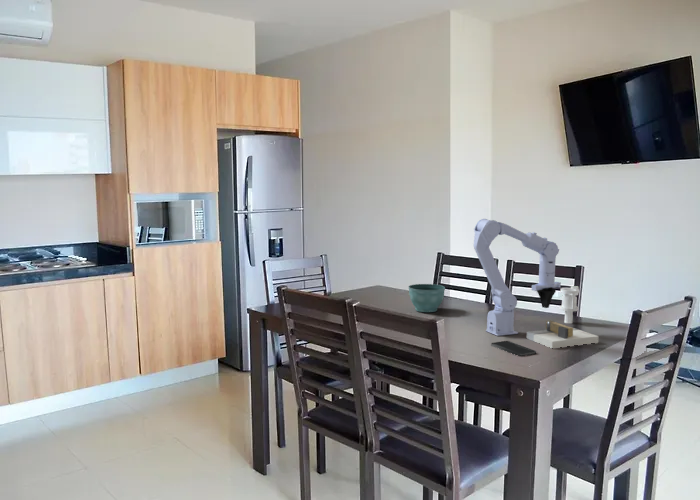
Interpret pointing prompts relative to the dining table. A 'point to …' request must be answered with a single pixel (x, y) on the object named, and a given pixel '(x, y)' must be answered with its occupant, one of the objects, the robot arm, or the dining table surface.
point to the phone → (513, 348)
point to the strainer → (569, 302)
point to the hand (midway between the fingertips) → (545, 307)
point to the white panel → (561, 337)
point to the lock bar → (554, 327)
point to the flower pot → (426, 296)
